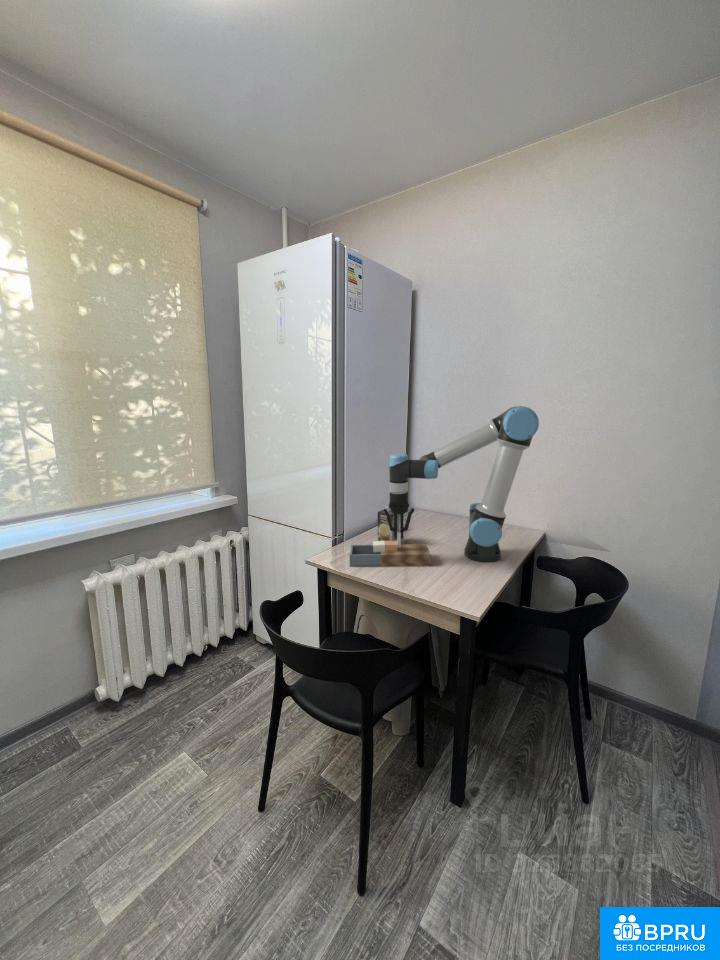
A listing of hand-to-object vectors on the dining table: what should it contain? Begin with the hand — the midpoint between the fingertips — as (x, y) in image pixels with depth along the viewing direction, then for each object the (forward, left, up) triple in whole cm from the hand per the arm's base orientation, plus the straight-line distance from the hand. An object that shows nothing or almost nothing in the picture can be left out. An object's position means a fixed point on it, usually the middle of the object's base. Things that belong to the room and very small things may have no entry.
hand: (398, 546), depth 162 cm
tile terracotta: (+3, 0, -1) cm, 3 cm away
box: (+14, 0, -6) cm, 15 cm away
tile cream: (+8, 0, -1) cm, 8 cm away
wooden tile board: (-3, 0, -6) cm, 7 cm away
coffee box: (+3, -20, -7) cm, 21 cm away
